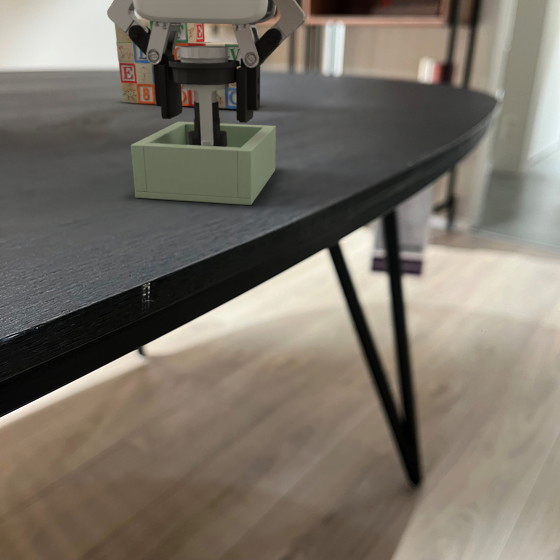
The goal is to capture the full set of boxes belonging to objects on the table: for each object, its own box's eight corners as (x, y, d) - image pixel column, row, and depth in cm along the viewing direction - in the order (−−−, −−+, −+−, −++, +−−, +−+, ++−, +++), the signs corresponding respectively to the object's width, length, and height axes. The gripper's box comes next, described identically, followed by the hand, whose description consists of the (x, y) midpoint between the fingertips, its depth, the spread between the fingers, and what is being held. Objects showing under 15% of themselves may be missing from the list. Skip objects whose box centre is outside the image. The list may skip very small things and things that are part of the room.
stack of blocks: (259, 105, 91) (259, 21, 86) (244, 111, 85) (243, 20, 80) (141, 98, 97) (135, 18, 92) (121, 102, 92) (113, 18, 86)
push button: (180, 167, 50) (172, 44, 46) (240, 166, 51) (238, 44, 47) (174, 187, 44) (164, 48, 40) (243, 186, 45) (240, 48, 41)
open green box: (135, 197, 43) (130, 144, 42) (180, 165, 53) (177, 121, 52) (251, 205, 42) (251, 150, 40) (275, 170, 52) (276, 125, 50)
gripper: (332, -149, 40) (319, 116, 48) (102, -145, 42) (125, 107, 50) (323, -183, 33) (310, 131, 41) (50, -176, 36) (85, 120, 43)
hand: (208, 115), depth 45 cm, fingers closed on push button, 5 cm apart
